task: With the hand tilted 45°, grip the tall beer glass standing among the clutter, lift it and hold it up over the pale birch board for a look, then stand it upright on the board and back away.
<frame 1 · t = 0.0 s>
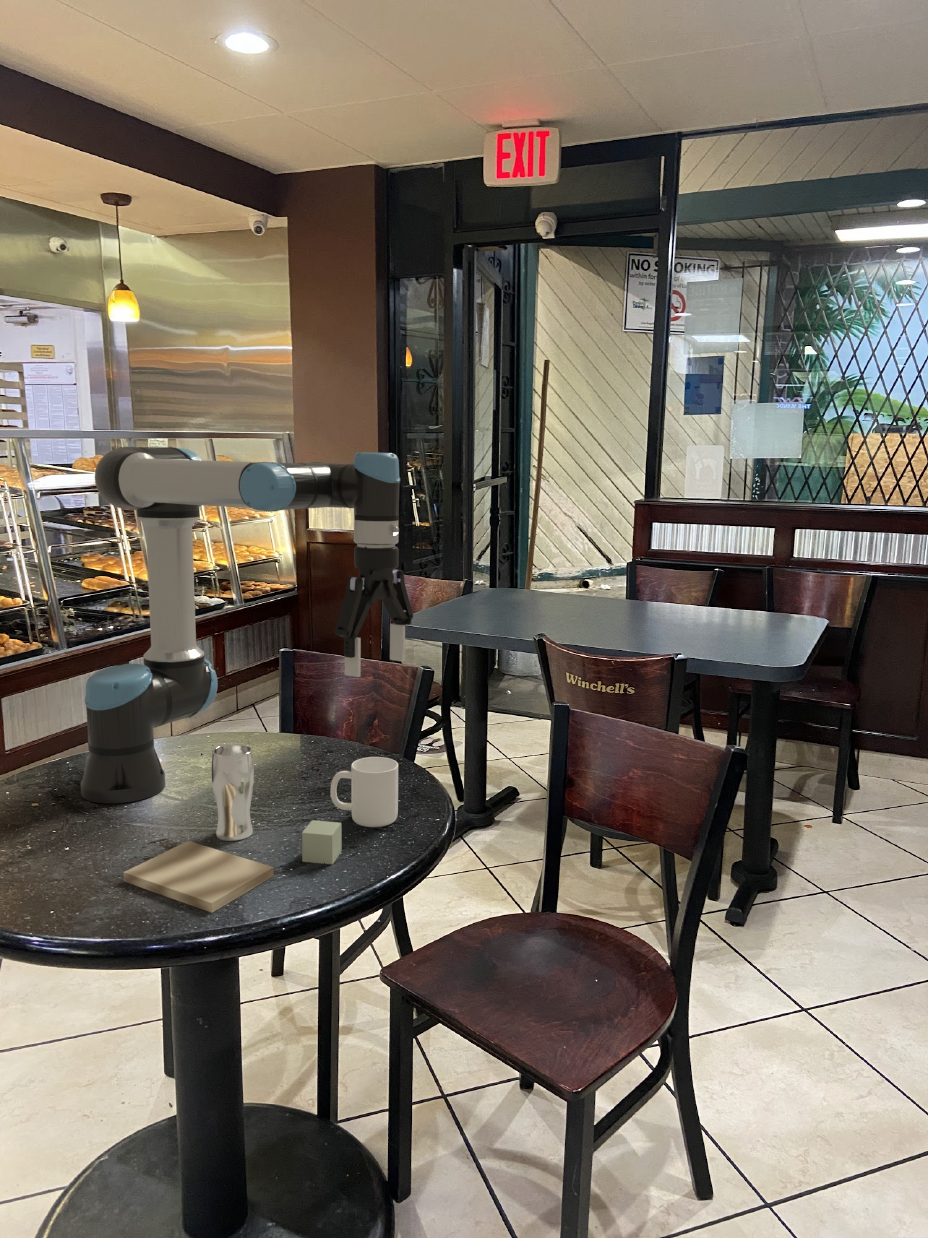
hand: (375, 667, 153), 28 cm above the table, tool pointing down, fingers open, 13 cm apart
sage block: (322, 856, 144), on the table
beer glass: (234, 834, 152), on the table
cup: (364, 819, 159), on the table
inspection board: (199, 879, 135), on the table
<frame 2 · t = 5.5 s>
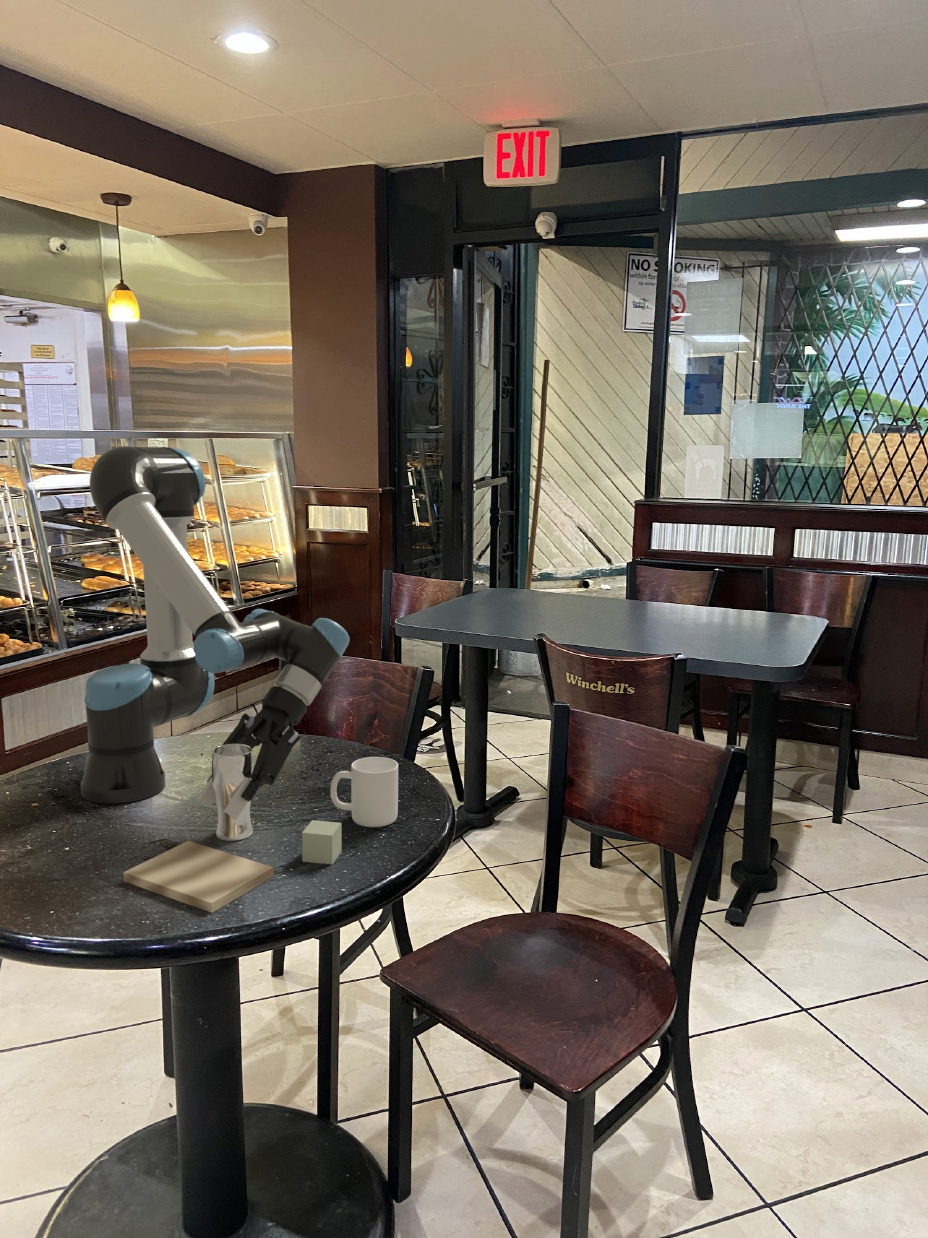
hand: (216, 809, 148), 5 cm above the table, tool tilted 45°, fingers closed on beer glass, 7 cm apart
beer glass: (234, 834, 152), on the table, touching gripper
everything else where it was.
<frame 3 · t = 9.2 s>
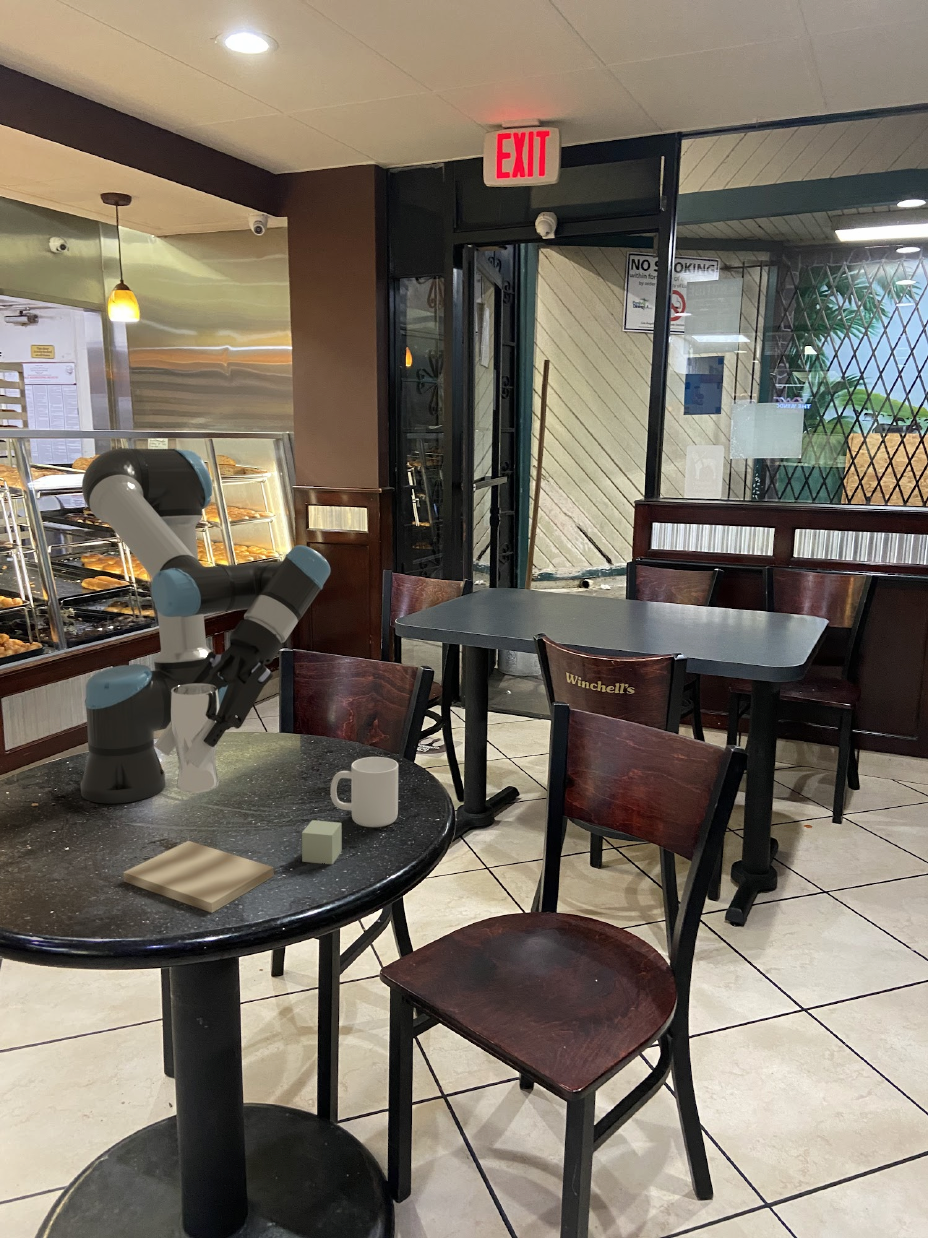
hand: (175, 756, 129), 20 cm above the table, tool tilted 45°, fingers closed on beer glass, 7 cm apart
beer glass: (198, 786, 133), point 15 cm above the table, touching gripper
everything else where it was.
when the fingers open (8 cm above the table, at t = 12.8 s): beer glass drops 1 cm, resting on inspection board.
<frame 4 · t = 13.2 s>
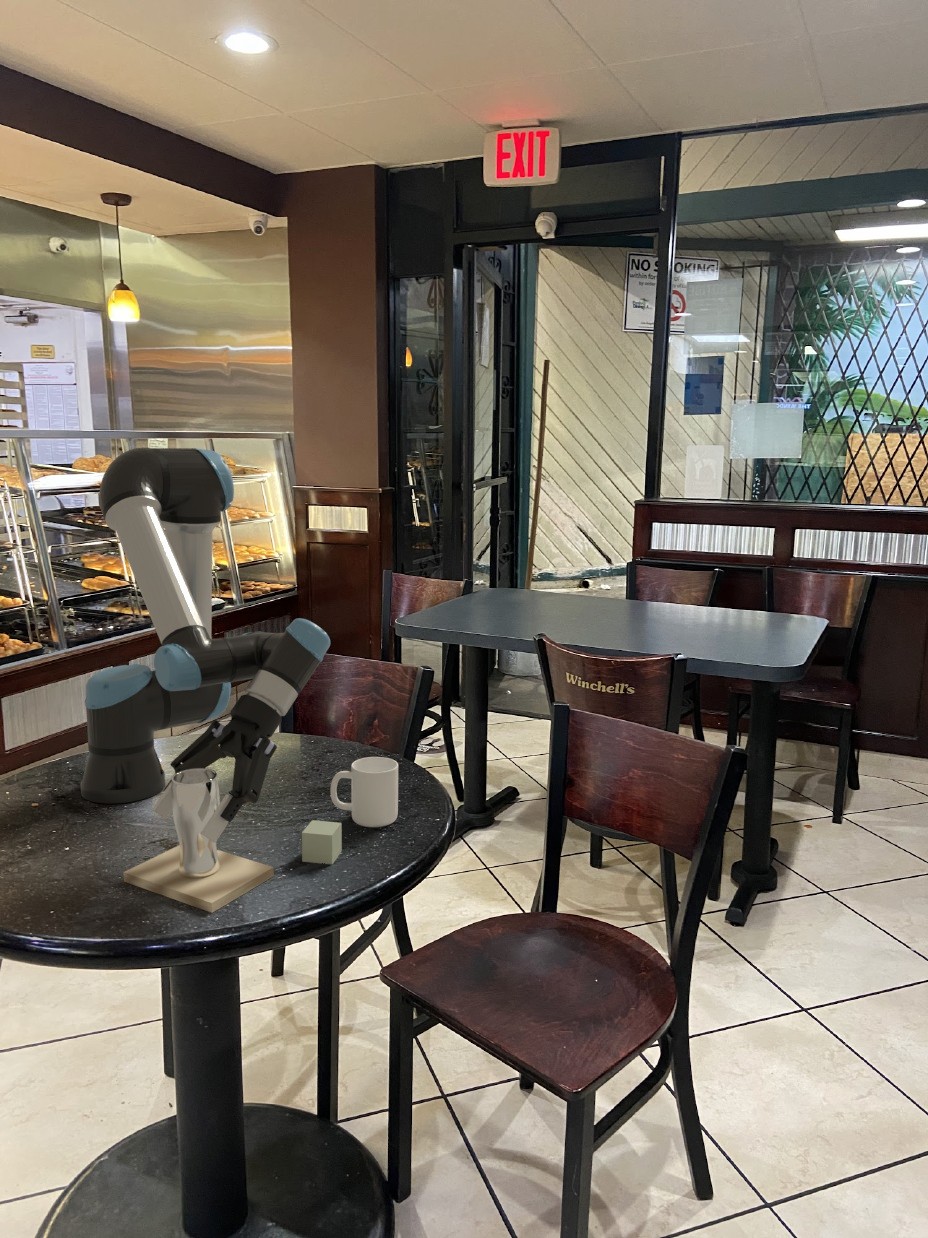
hand: (182, 826, 132), 9 cm above the table, tool tilted 45°, fingers open, 12 cm apart
beer glass: (199, 870, 135), point 1 cm above the table, touching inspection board
everything else where it was.
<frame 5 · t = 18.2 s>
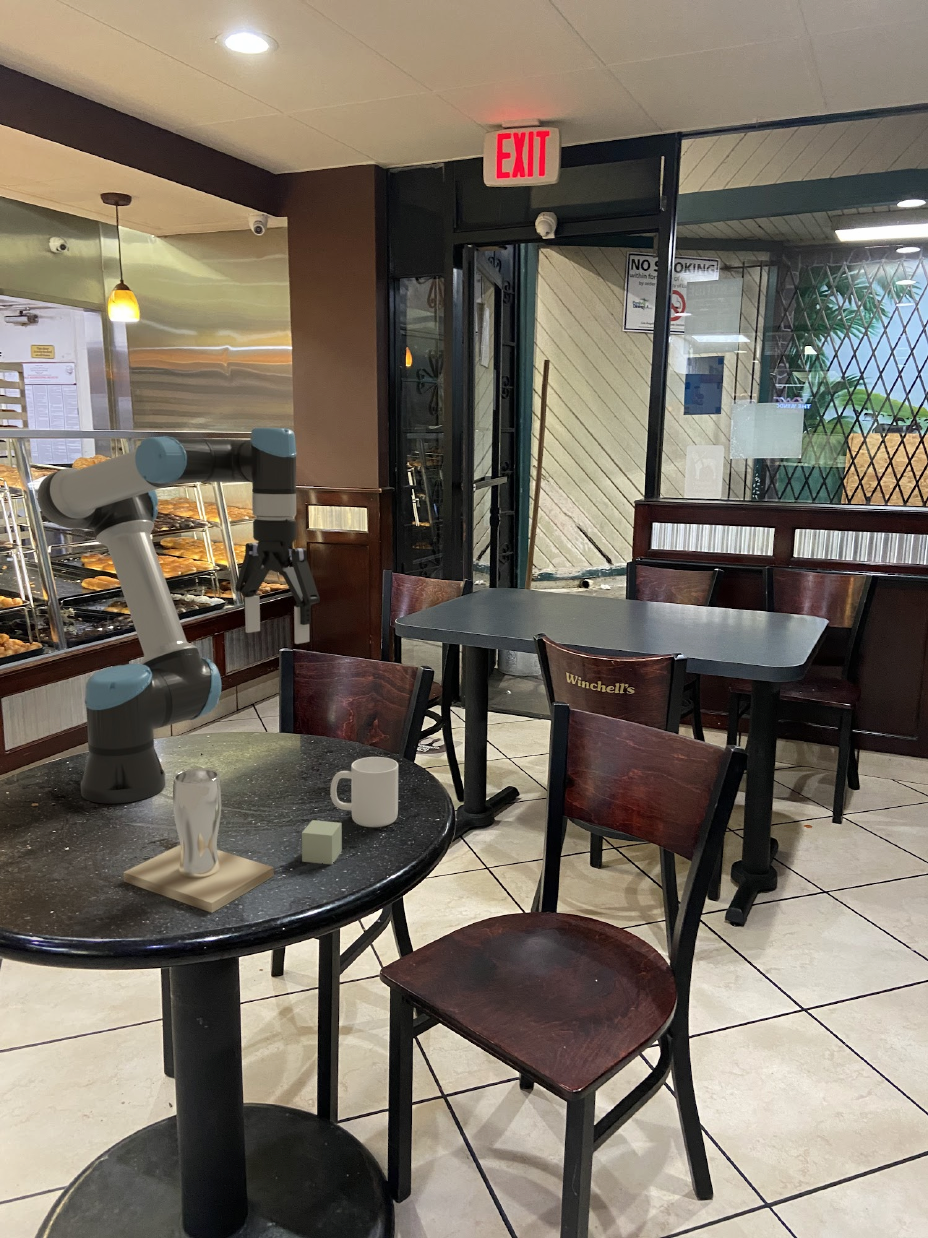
hand: (276, 637, 159), 32 cm above the table, tool pointing down, fingers open, 13 cm apart
nothing on the table moved.
at the end: beer glass inside the target area on the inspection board (0.1 cm from its centre), point 1.3 cm above the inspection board's base; beer glass tilted 0°; the gripper is holding nothing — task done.
